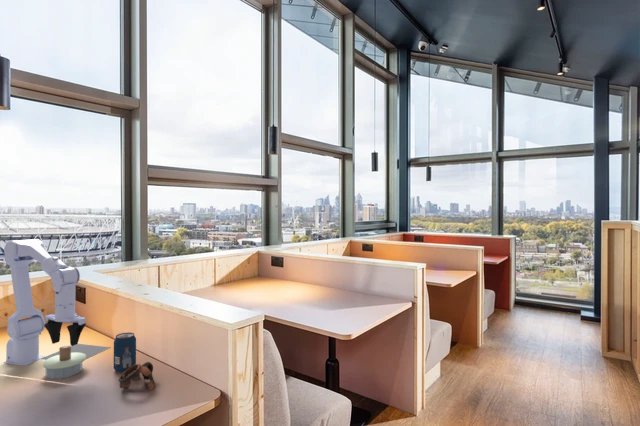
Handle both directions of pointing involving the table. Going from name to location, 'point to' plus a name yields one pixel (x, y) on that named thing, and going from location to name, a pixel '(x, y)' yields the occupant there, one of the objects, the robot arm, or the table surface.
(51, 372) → the bowl
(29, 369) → the table surface
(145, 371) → the brown lumpy object
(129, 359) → the soda can
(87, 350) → the mat
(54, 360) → the lid
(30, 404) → the table surface
